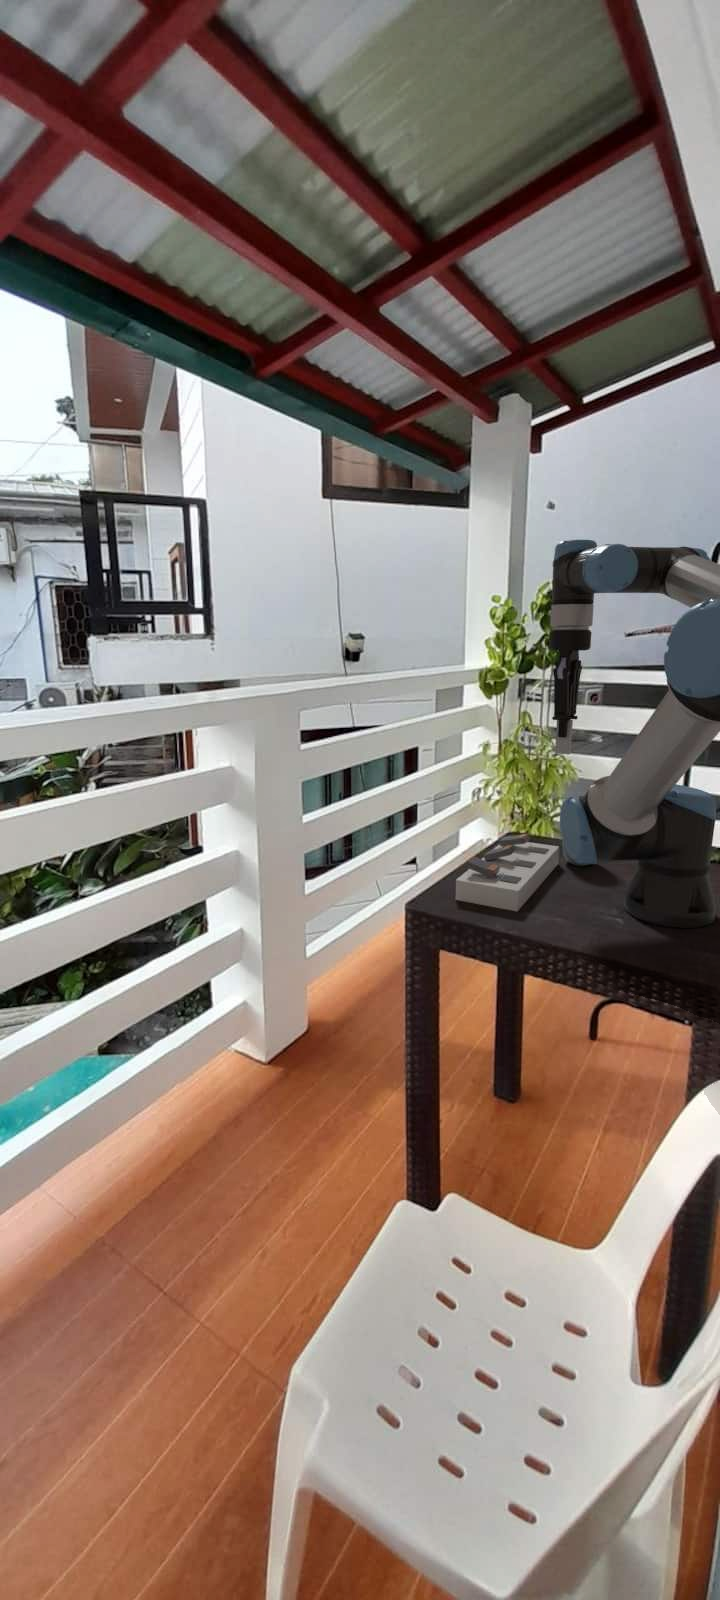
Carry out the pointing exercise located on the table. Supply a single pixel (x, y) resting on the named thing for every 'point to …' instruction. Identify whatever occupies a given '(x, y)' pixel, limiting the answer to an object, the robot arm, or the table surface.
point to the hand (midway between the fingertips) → (562, 753)
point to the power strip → (509, 877)
